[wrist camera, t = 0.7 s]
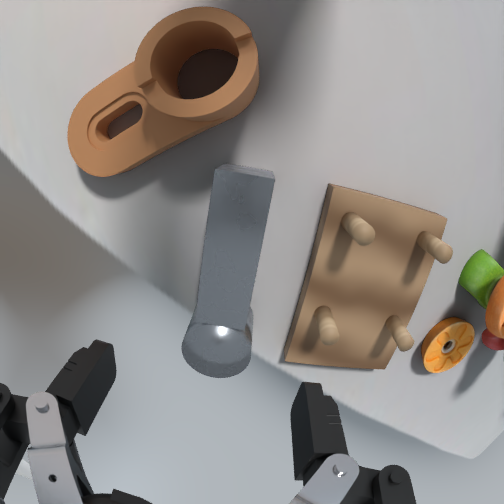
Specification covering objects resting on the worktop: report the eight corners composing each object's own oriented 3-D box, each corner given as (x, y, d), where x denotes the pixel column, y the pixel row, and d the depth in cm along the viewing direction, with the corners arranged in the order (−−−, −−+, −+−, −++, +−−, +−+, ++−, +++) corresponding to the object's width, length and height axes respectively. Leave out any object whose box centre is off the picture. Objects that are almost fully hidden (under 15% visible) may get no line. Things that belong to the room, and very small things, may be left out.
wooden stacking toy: (399, 351, 31) (438, 427, 20) (482, 233, 26) (556, 279, 14) (466, 380, 34) (499, 435, 22) (531, 292, 28) (580, 335, 16)
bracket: (236, 25, 20) (227, -10, 14) (274, 101, 23) (278, 85, 16) (73, 117, 23) (29, 116, 17) (102, 187, 26) (61, 202, 19)
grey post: (214, 161, 25) (200, 166, 19) (283, 173, 25) (290, 182, 19) (193, 333, 31) (180, 370, 25) (247, 343, 31) (244, 382, 25)
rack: (328, 183, 25) (347, 195, 19) (437, 213, 25) (471, 231, 19) (283, 349, 31) (287, 388, 25) (379, 358, 31) (395, 393, 26)
